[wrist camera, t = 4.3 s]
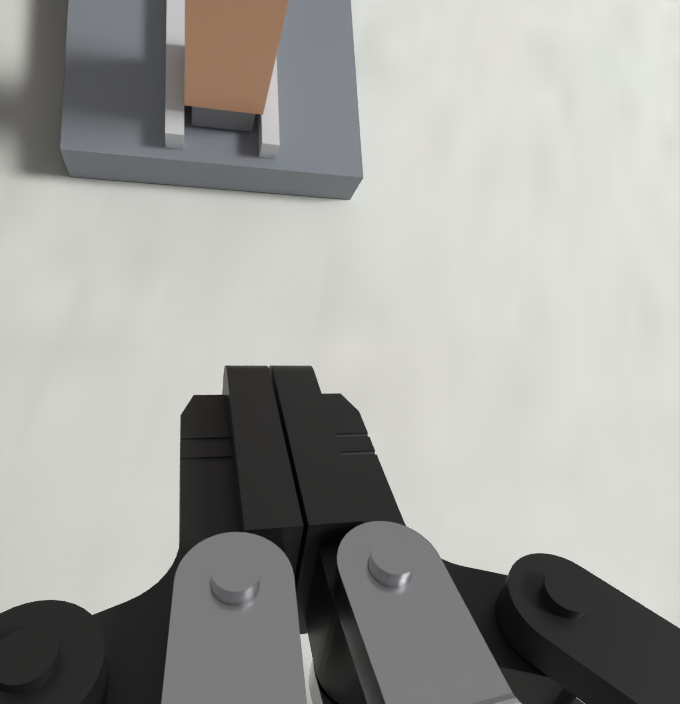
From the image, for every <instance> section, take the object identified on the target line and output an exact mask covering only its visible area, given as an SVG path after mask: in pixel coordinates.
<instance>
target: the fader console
mask: <svg viewBox="0 0 680 704" xmlns="http://www.w3.org/2000/svg"><path fill="white" fill-rule="evenodd" d="M184 65H185V0H68V17H67V34H66V51H65V69H64V86H63V104H62V121H61V139H60V151H61V154H62V157H63V159H64V162H65V165H66V168H67V171H68V173H69V176H70V177H83V178H95V179H107V180H119V181H131V182H143V183H155V184H168V185H180V186H192V187H204V188H216V189H228V190H240V191H252V192H265V193H277V194H289V195H301V196H313V197H325V198H337V199H351V197H352V195H353V194H354V192H355V190H356V189H357V187H358V185H359V184H360V182H361V180H362V179H363V170H362V156H361V141H360V127H359V113H358V99H357V85H356V70H355V56H354V42H353V28H352V14H351V0H289V2H288V6H287V11H286V15H285V20H284V24H283V29H282V33H281V37H280V42H279V46H278V51H277V55H276V60H275V64H274V69H273V73H272V77H271V82H270V86H269V91H268V95H267V100H266V104H265V108H264V113H263V115H260V114H255V119H254V123H253V128H252V132H249V131H240V130H231V129H222V128H213V127H204V126H195V125H192V106H185V105H184Z"/></svg>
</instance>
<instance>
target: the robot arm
mask: <svg viewBox="0 0 680 704" xmlns="http://www.w3.org/2000/svg"><path fill="white" fill-rule="evenodd" d="M367 433H368V432H367V430H366V427H365V425H364V423H363V420H362V418H361V415H360V413H359V411H358V410H357V409H356V408H355V407H354V406H353V405H352V404H351V403H350V402H349V401H348V400H347V399H346V398H344V397H343V396H342V395H341V394H321V391H320V388H319V385H318V382H317V379H316V376H315V373H314V370H313V368H312V366H269V368H268V366H225V368H224V377H223V393H222V395H194V396H193V397H192V399H191V400H190V402H189V403H188V405H187V406H186V408H185V409H184V411H183V412H182V414H181V427H180V512H179V550H178V553H177V556H176V558H175V561H174V563H173V565H172V566H171V568H170V569H169V570H168V572H167V573H166V574H165V575H164V577H163V578H162V579H161V580H160V581H159V582H158V583H156V584H155V585H154V586H153V587H152V588H150V589H149V590H147V591H146V592H144V593H143V594H141V595H139V596H137V597H135V598H133V599H131V600H129V601H127V602H124V603H122V604H119V605H117V606H114V607H112V608H109V609H107V610H104V611H102V612H99V613H97V614H94V615H91V614H90V613H89V612H87V611H86V610H85V609H84V608H82V607H80V606H77V605H75V604H73V603H69V602H65V601H57V600H43V601H35V602H30V603H26V604H23V605H19V606H16V607H13V608H11V609H9V610H7V611H5V612H3V613H0V704H307V700H306V690H305V680H304V670H303V660H302V650H301V640H300V634H306V633H308V636H309V641H310V647H311V652H312V657H313V660H312V664H311V668H310V674H309V689H310V695H311V699H312V702H313V704H584V703H585V704H680V628H678V627H676V626H675V625H673V624H672V623H670V622H668V621H667V620H665V619H664V618H662V617H660V616H659V615H657V614H656V613H654V612H652V611H651V610H649V609H648V608H646V607H644V606H643V605H641V604H640V603H638V602H636V601H635V600H633V599H632V598H630V597H629V596H627V595H625V594H624V593H622V592H621V591H619V590H617V589H616V588H614V587H613V586H611V585H609V584H608V583H606V582H605V581H603V580H601V579H600V578H598V577H597V576H595V575H593V574H592V573H590V572H589V571H587V570H585V569H584V568H582V567H581V566H579V565H577V564H575V563H573V562H572V561H569V560H567V559H565V558H562V557H559V556H555V555H551V554H543V553H536V554H530V555H527V556H524V557H522V558H520V559H519V560H517V561H516V562H515V564H514V565H513V566H512V568H511V570H510V572H509V574H508V575H503V574H498V573H493V572H489V571H484V570H479V569H474V568H469V567H464V566H460V565H456V564H453V563H450V562H448V561H445V560H443V559H441V558H440V556H439V554H438V553H437V551H436V549H435V548H434V547H433V546H432V545H431V543H430V542H429V541H428V540H427V539H425V538H424V537H423V536H422V535H420V534H419V533H418V532H416V531H415V530H413V529H411V528H409V527H407V526H406V525H405V523H404V521H403V518H402V516H401V513H400V511H399V509H398V506H397V504H396V501H395V499H394V496H393V494H392V491H391V489H390V486H389V484H388V482H387V479H386V477H385V474H384V472H383V469H382V467H381V464H380V462H379V459H378V457H377V455H375V450H374V447H373V445H372V442H371V440H370V437H368V435H367ZM576 697H577V698H578V699H580V700H581V701H582V702H584V703H582V702H581V701H580V700H578V699H577V698H576Z"/></svg>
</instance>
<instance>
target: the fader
mask: <svg viewBox="0 0 680 704" xmlns="http://www.w3.org/2000/svg"><path fill="white" fill-rule="evenodd" d="M288 2H289V0H185V65H184V105H185V106H192V125H195V126H204V127H213V128H222V129H231V130H240V131H249V132H252V128H253V123H254V119H255V114H260V115H263V113H264V108H265V104H266V100H267V95H268V91H269V86H270V82H271V77H272V73H273V69H274V64H275V60H276V55H277V51H278V46H279V42H280V37H281V33H282V29H283V24H284V20H285V15H286V11H287V6H288Z"/></svg>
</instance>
